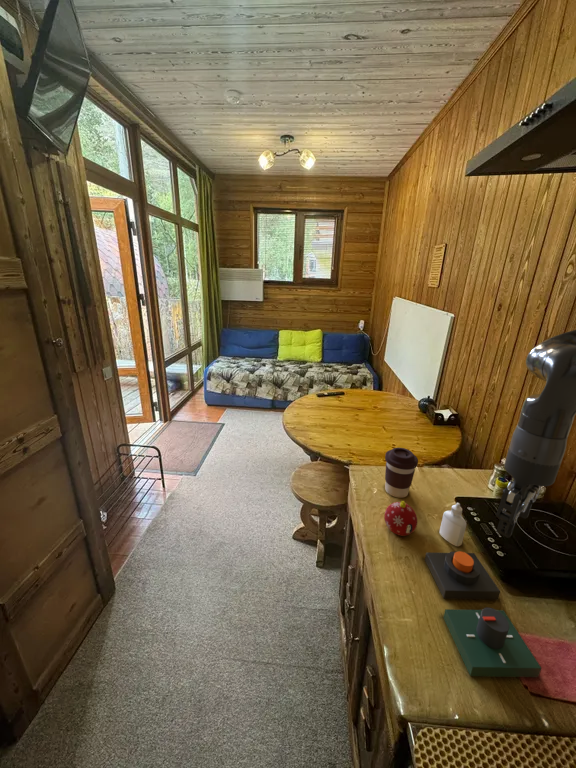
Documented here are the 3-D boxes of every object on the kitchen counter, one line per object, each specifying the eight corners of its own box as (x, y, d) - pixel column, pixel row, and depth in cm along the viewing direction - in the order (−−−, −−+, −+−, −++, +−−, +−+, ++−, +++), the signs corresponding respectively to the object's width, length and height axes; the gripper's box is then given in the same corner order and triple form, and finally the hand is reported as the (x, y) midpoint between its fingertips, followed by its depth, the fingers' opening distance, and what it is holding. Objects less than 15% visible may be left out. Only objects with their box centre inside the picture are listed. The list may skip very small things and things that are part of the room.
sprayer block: (471, 562, 77) (475, 546, 75) (497, 601, 68) (502, 584, 66) (424, 561, 77) (427, 545, 75) (443, 600, 67) (447, 583, 66)
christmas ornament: (405, 518, 91) (410, 490, 88) (421, 541, 83) (426, 511, 80) (378, 520, 90) (381, 492, 87) (390, 544, 82) (395, 513, 79)
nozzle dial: (493, 624, 60) (499, 606, 59) (509, 649, 56) (515, 631, 54) (471, 623, 60) (476, 606, 59) (485, 649, 56) (490, 630, 54)
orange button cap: (466, 558, 73) (467, 551, 72) (475, 573, 69) (477, 566, 68) (449, 557, 73) (450, 551, 72) (458, 573, 69) (459, 566, 68)
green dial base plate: (500, 620, 64) (503, 609, 63) (537, 679, 54) (542, 667, 53) (442, 619, 64) (445, 608, 63) (469, 678, 54) (473, 666, 53)
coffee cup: (375, 491, 103) (380, 452, 98) (389, 479, 109) (395, 441, 105) (403, 506, 96) (410, 465, 91) (417, 492, 103) (424, 453, 98)
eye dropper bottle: (447, 548, 81) (455, 510, 77) (437, 531, 86) (444, 496, 83) (463, 548, 81) (472, 511, 77) (452, 532, 86) (460, 496, 83)
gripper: (547, 476, 48) (521, 555, 53) (572, 449, 56) (547, 521, 62) (494, 455, 54) (475, 528, 59) (524, 433, 62) (505, 500, 67)
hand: (512, 524), depth 60 cm, fingers open, 8 cm apart
